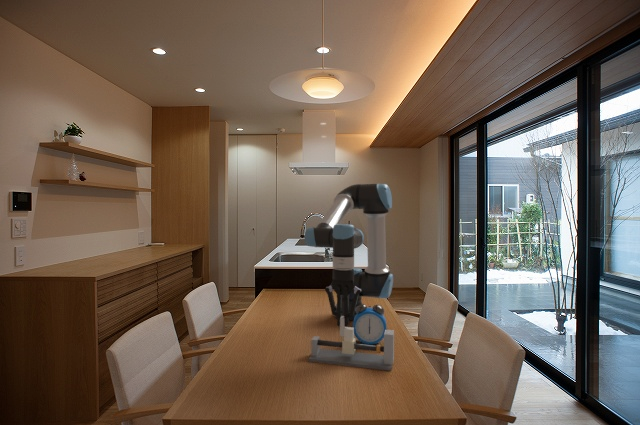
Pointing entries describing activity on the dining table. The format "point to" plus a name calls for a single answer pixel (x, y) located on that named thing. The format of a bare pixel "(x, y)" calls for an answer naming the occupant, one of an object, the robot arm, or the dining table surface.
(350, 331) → the sleeve
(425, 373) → the dining table surface
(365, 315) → the alarm clock
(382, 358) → the slider rail fixture
